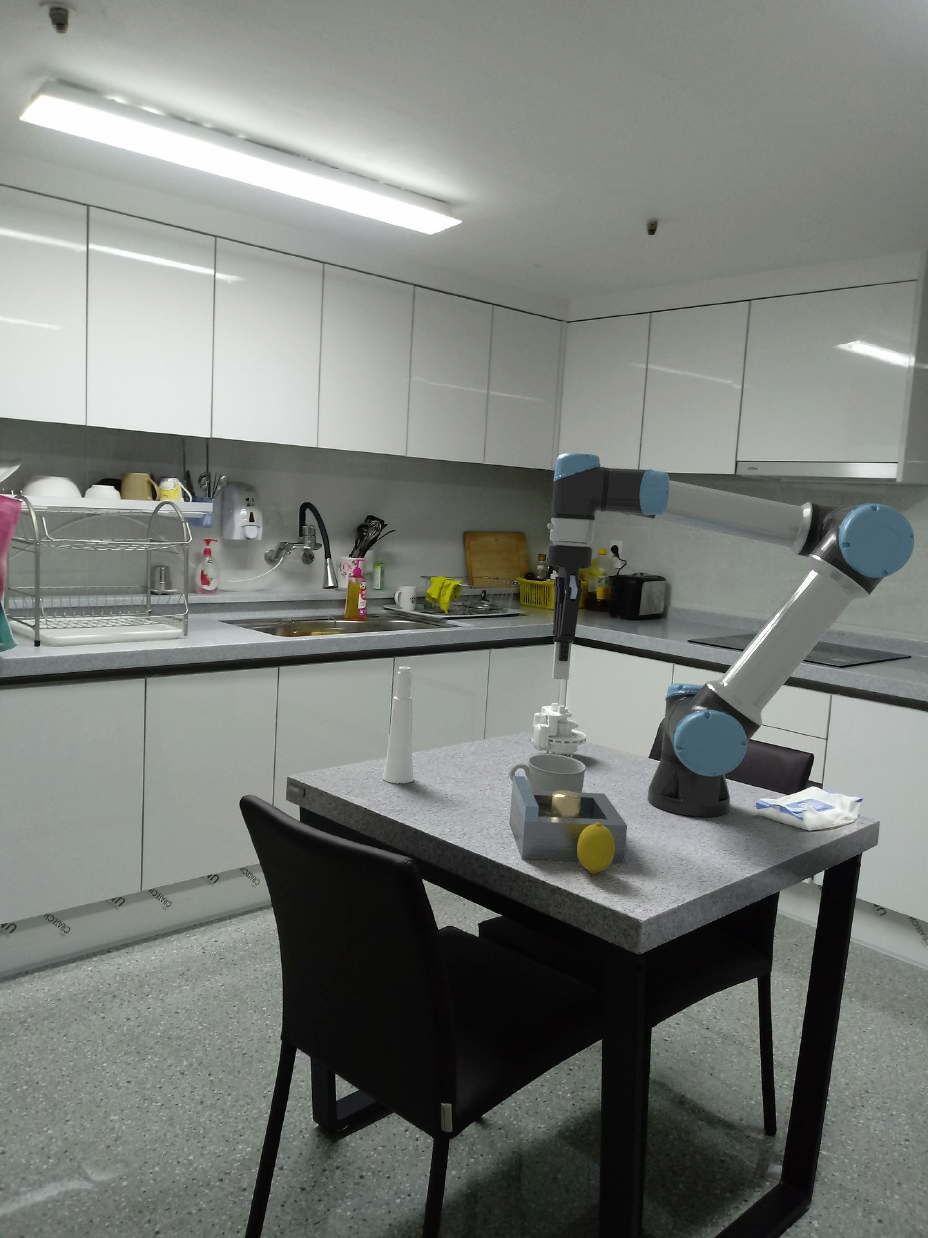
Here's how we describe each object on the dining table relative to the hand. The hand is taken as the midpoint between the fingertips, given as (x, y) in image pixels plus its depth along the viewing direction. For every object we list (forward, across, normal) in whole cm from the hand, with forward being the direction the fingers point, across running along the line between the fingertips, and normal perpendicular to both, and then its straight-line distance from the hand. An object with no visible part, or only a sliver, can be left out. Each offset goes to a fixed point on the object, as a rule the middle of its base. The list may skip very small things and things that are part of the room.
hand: (560, 678), depth 163 cm
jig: (+24, +15, 0) cm, 29 cm away
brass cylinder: (+24, +15, 0) cm, 29 cm away
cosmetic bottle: (+25, -16, -27) cm, 40 cm away
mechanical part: (+25, -38, +8) cm, 46 cm away
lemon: (+25, +28, +2) cm, 37 cm away
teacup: (+25, -5, 0) cm, 25 cm away
